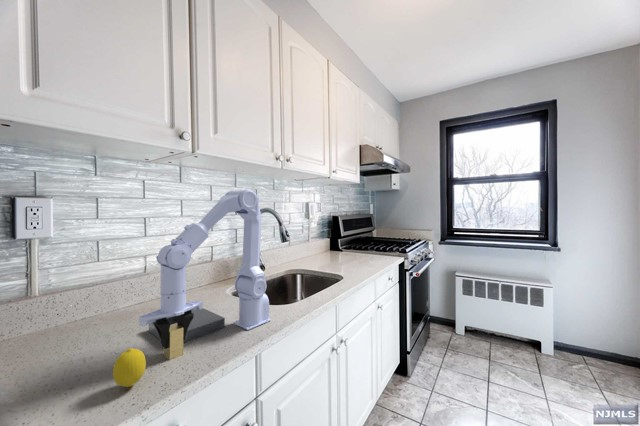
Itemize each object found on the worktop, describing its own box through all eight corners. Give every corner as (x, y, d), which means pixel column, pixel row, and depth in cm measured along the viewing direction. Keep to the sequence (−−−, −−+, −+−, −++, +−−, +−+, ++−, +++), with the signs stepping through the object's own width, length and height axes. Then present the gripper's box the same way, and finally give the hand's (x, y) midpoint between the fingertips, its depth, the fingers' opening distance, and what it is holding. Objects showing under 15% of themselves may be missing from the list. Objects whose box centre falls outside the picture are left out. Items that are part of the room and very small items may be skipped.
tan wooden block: (176, 349, 69) (176, 323, 69) (183, 354, 66) (183, 327, 66) (163, 354, 66) (163, 327, 66) (169, 359, 64) (170, 331, 64)
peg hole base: (199, 314, 92) (199, 306, 92) (224, 327, 82) (224, 317, 82) (148, 331, 79) (148, 321, 79) (170, 347, 69) (170, 336, 69)
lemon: (140, 375, 58) (141, 339, 58) (149, 385, 54) (149, 347, 54) (109, 388, 53) (109, 349, 53) (116, 400, 50) (117, 359, 50)
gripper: (147, 302, 58) (146, 362, 58) (208, 287, 69) (208, 338, 69) (136, 296, 62) (136, 352, 62) (195, 283, 74) (195, 330, 74)
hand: (173, 344), depth 66 cm, fingers closed on tan wooden block, 3 cm apart
